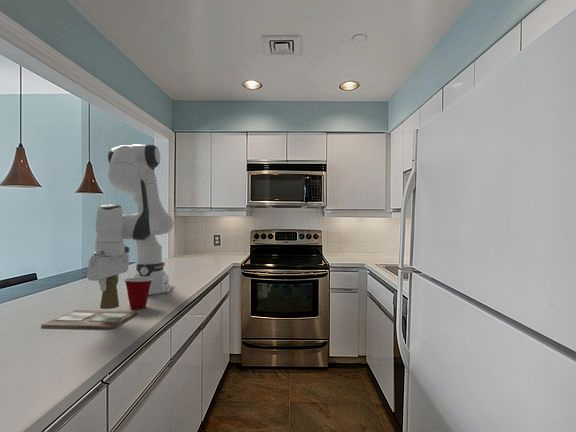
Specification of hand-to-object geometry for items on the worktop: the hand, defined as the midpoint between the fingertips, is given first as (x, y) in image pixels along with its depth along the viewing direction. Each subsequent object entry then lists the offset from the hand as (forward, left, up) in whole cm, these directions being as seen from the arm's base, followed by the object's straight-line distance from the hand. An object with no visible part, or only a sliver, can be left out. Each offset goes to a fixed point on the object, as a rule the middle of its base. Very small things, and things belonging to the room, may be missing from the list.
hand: (108, 288), depth 124 cm
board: (0, -6, -11) cm, 13 cm away
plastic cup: (-18, +2, -12) cm, 22 cm away
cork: (0, 0, -7) cm, 7 cm away
